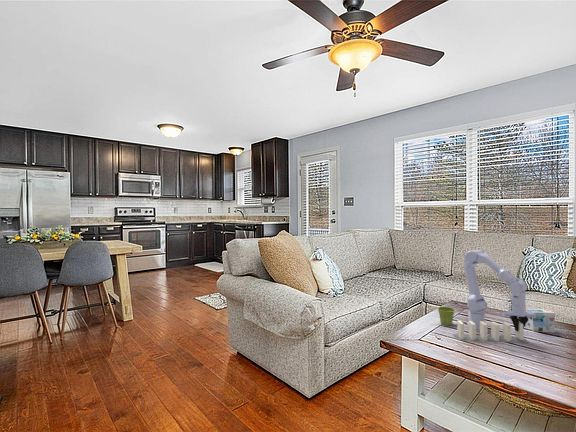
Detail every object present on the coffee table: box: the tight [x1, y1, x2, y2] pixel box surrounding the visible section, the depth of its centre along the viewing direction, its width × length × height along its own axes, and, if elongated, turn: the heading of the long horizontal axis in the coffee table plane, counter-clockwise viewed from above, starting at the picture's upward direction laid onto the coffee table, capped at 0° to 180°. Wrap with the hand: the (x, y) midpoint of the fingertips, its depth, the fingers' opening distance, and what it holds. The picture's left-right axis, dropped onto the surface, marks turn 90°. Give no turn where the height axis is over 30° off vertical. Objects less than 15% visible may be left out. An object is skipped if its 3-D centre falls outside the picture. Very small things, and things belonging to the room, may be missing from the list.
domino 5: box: [502, 321, 512, 341], centre depth 163 cm, size 2×5×8 cm, turn 170°
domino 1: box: [456, 320, 465, 339], centre depth 167 cm, size 2×5×8 cm, turn 170°
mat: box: [451, 333, 531, 344], centre depth 165 cm, size 8×34×1 cm, turn 80°
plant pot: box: [436, 306, 456, 326], centre depth 188 cm, size 9×9×9 cm
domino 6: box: [514, 322, 525, 340], centre depth 162 cm, size 2×5×8 cm, turn 170°
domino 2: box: [467, 320, 477, 340], centre depth 166 cm, size 2×5×8 cm, turn 170°
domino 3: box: [479, 321, 488, 340], centre depth 165 cm, size 2×5×8 cm, turn 170°
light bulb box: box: [526, 308, 556, 333], centre depth 175 cm, size 11×7×11 cm, turn 76°
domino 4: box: [490, 321, 500, 341], centre depth 164 cm, size 2×5×8 cm, turn 170°
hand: (519, 330), depth 162 cm, fingers closed on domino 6, 1 cm apart
